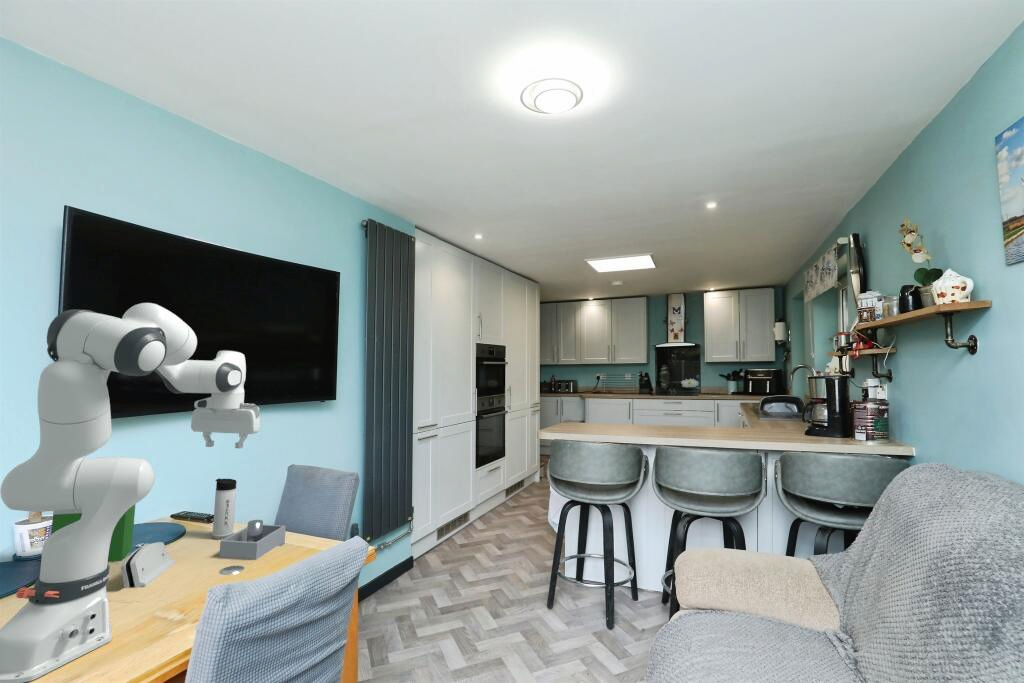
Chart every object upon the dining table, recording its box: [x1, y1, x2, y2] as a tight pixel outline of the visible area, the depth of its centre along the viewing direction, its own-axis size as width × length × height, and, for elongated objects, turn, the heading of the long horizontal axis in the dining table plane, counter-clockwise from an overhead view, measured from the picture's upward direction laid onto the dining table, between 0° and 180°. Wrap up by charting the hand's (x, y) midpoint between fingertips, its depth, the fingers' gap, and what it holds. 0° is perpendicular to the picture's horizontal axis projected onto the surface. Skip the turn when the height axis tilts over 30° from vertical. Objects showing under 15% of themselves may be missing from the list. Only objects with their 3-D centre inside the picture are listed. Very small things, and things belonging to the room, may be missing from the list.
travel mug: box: [212, 478, 237, 541], centre depth 169 cm, size 6×7×20 cm
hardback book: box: [50, 504, 136, 563], centre depth 146 cm, size 18×7×24 cm, turn 110°
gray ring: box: [218, 565, 245, 576], centre depth 139 cm, size 6×6×1 cm
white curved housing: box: [120, 541, 177, 589], centre depth 134 cm, size 17×5×10 cm, turn 11°
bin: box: [218, 524, 286, 561], centre depth 156 cm, size 17×12×6 cm
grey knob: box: [247, 519, 264, 542], centre depth 156 cm, size 5×5×9 cm
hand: (224, 447), depth 148 cm, fingers open, 8 cm apart
